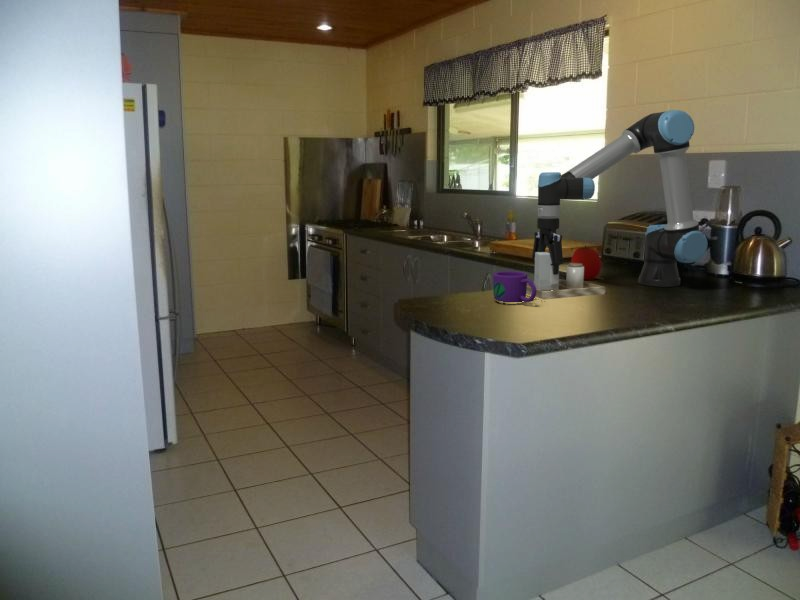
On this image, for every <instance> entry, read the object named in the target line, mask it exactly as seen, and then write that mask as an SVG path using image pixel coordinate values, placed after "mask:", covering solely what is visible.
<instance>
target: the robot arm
mask: <svg viewBox="0 0 800 600" xmlns="http://www.w3.org/2000/svg"><path fill="white" fill-rule="evenodd" d="M694 132H695V123H694V120H693V119H692V117H691V116H690V115H689V114H688V113H687V112H686V111H684V110H679V109H678V110H677V109H671V110H666V111H660V112H653V113H650V114H648V115H646V116H644V117H641V119H639V120H638V121H636V122H635V123H634V124H632V125H631V126H628V127H627V128H626V129H625V130H623V131H622V133H621V135H620V136H619V137H618V138H616V139H614V140H613V141H612V142H610V143H607V145H605V146H604V147H602V148H600V149H599V150H598V151H596V152H594V153H593V154H592V155H590V156H588V157H587V158H585V159H584V160H583V161H580V162H579V163H578V164H577V165H575V166H573V167H572V168H570V169H568V171H566V172H564V173H562V174H561V172H556V171H555V172H552V171H550V172H541V173H539V176H538V182H537V217H538V218H537V219H536V220H537V221H536V222H537V223H536V228H537V229H538V230H539V231H536V232H534V233H533V235H534V236H533V237H534V241H533V248H532V254H531V255H532V256H531V259H532V260H535V252H546V249H547V248H548V252H550V257H551V261H552V264H550V265H551V266H550V284H558V273H559V274H560V265H562V264H564V258H563V257H564V256H563V245H562V241H563V236H562V235H561V234H557V230H558V229H560V218H559V217H560V215H561V214H560V213H561V201H564V200H565V201H567V200H569V201H570V200H571V201H572V200H573V201H574V200H583V201H584V200H589V199H592V198H593V196H594V194H595V190H596V186H595V185H596V184H595V181H594V179H595V178H597V177H598V176H599V175H601V174H603V173H605V172H606V171H608V170H609V169H610V168H612V167H614V166H615V165H616V164H619V163H620V162H621V161H623V160H624V159H626V158H627V157H628V156H630V155H631V154H632V155H633V154H638V153H640V152H641V151H643V150H645V149H648V148H651V147H652V148H653V154H654V155H656V156H657V157H658V158H659V165H660V172H661V180H662V188H663V189H662V190H663V195H664V203H665V211H666V212H665V213H666V218H667V223H666V224H651V225H649V226H647V227H646V232H645V246H644V247H645V248H644V249H645V250H644V261H643V262H644V264H643V266H642V269H641V272H640V274H639V276H638V284H640V285H642V286H643V285H644V286H648V287H649V286H650V287H661V288H662V287H665V288H667V287H668V288H669V287H679V286H680V285H681V277H680V273H679V269H678V266H677V263H678V262H679V263H687V264H690V263H691V264H692V263H695V262H697V261H699V260H700V259H701V258H703V256H704V254H705V253H706V252H707V249H708V245H709V244H708V243H709V242H708V238H707V237H706V234H704V233H703V232H702V231H700V224H699V221H697V220H695V219H694V213H693V205H692V195H691V187H690V178H689V170H688V163H687V155H686V154H687V151H688V150H689V148H690V145H691V144H690V140H692V137H693V135H694V134H695V133H694ZM559 260H560V261H559ZM558 271H559V272H558Z"/></svg>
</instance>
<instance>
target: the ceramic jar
mask: <svg viewBox="0 0 800 600" xmlns="http://www.w3.org/2000/svg"><path fill="white" fill-rule="evenodd" d="M582 265H583V264H582V263H571V262H569V263H568V265H566V277H565V278H566V279H565V280H566V287H569V288H573V289H578V288H583V282H585V280H584V266H582Z"/></svg>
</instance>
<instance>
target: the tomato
mask: <svg viewBox="0 0 800 600" xmlns="http://www.w3.org/2000/svg"><path fill="white" fill-rule="evenodd" d="M572 254H573V255H572V256H571V261H570V263H582V264H583V265H582V266H584V281H589V280H590V281H593V280H595V279H596V278H598V276H599V275H600V272H601V269H602V259H601V256H600V254H599V253H598V252H597V250H595V249H594V248H591V247H590V246H589V247H587V245H584V246H582V247H578V248H576V250H575V251H574V252H573V253H572Z"/></svg>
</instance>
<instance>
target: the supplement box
mask: <svg viewBox="0 0 800 600" xmlns="http://www.w3.org/2000/svg"><path fill="white" fill-rule="evenodd" d="M559 261H560V260H559ZM550 264H552V261H551V257H550V252H549V251H545V252H535V259H534V279H533V283H534V285H535V287H536V288H537V289H538V290H558V289H559V281H560V270H559V271H558V272H559V273H558V284H550V266H551V265H550Z"/></svg>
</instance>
